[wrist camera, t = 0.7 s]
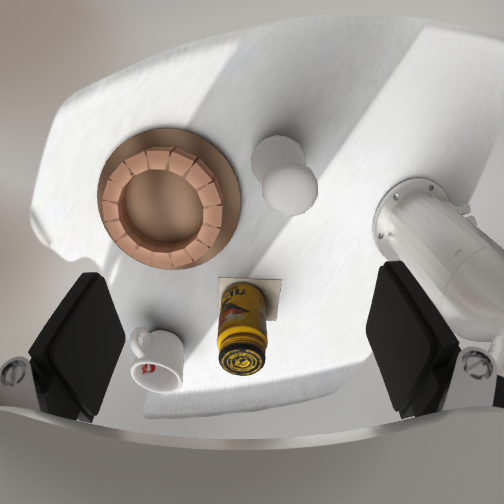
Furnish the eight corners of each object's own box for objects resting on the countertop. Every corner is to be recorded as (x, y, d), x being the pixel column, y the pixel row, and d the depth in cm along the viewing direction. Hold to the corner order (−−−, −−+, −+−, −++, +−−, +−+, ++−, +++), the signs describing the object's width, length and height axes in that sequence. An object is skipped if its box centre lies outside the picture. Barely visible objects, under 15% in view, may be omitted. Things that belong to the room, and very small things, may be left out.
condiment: (218, 277, 41) (210, 341, 30) (281, 279, 41) (292, 343, 31) (219, 317, 44) (213, 381, 34) (275, 319, 45) (283, 383, 34)
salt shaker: (293, 126, 31) (320, 144, 20) (307, 173, 34) (338, 216, 22) (243, 142, 32) (241, 169, 21) (259, 188, 35) (266, 238, 23)
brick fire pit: (211, 105, 30) (207, 106, 27) (259, 244, 38) (260, 258, 35) (79, 164, 32) (65, 171, 29) (137, 279, 41) (130, 294, 38)
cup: (123, 318, 44) (107, 355, 37) (161, 305, 43) (149, 343, 36) (159, 360, 49) (151, 396, 42) (197, 350, 48) (192, 389, 41)
